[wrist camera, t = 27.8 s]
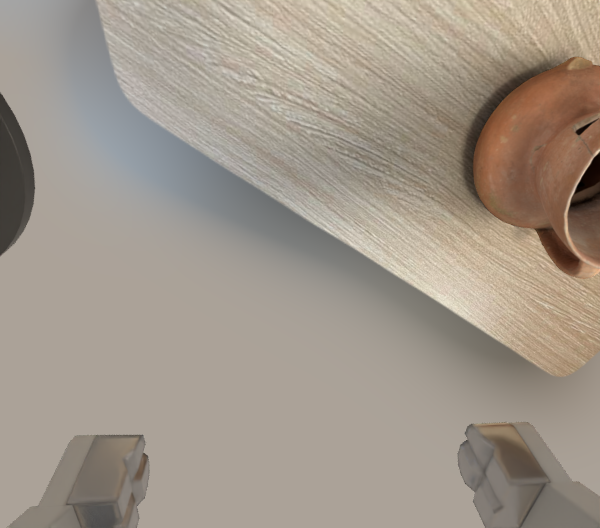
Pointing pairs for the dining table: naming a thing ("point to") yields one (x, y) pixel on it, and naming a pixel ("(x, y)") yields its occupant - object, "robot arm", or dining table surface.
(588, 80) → the ceramic jug
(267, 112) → the dining table surface
